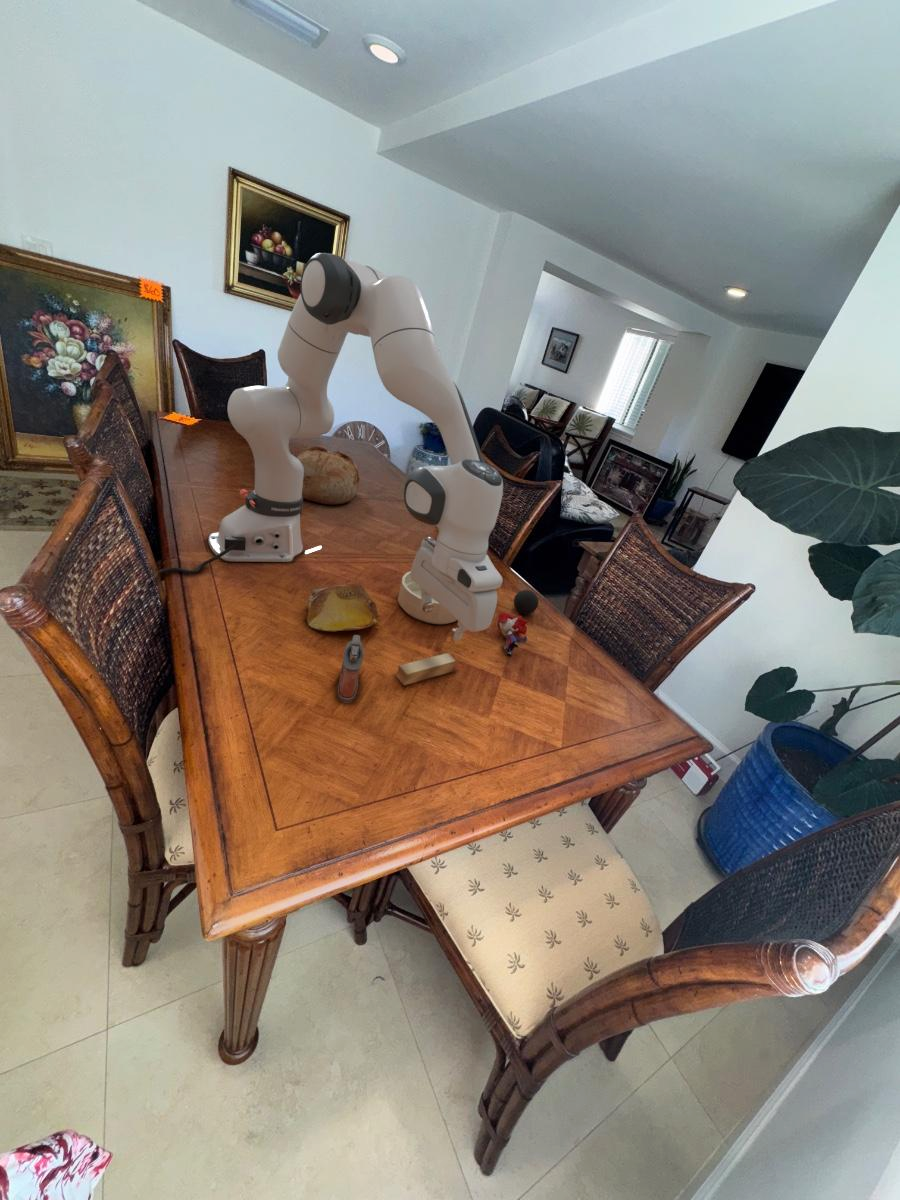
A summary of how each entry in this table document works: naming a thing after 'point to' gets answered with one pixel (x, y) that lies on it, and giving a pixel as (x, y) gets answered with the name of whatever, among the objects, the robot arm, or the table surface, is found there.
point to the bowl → (420, 603)
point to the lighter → (350, 670)
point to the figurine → (512, 630)
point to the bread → (328, 476)
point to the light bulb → (526, 601)
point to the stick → (425, 668)
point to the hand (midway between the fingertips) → (440, 624)
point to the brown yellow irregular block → (341, 608)
